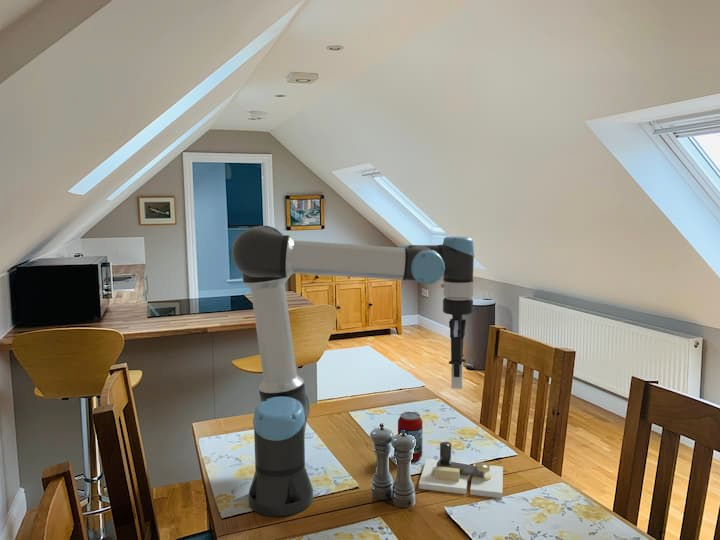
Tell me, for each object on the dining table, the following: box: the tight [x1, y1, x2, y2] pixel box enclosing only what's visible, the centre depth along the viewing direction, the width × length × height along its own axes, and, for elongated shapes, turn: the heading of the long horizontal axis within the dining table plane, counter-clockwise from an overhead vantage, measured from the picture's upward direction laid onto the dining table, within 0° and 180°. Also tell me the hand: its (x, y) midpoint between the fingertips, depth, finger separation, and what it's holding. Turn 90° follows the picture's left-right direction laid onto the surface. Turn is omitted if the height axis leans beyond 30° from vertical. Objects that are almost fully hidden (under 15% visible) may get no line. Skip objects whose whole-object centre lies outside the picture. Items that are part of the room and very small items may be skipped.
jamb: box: [470, 463, 504, 499], centre depth 145 cm, size 14×8×2 cm, turn 166°
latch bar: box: [437, 441, 491, 478], centre depth 146 cm, size 13×4×7 cm, turn 67°
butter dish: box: [418, 458, 471, 495], centre depth 147 cm, size 14×12×4 cm
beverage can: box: [397, 411, 423, 462], centre depth 159 cm, size 7×7×12 cm
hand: (456, 387), depth 149 cm, fingers closed
